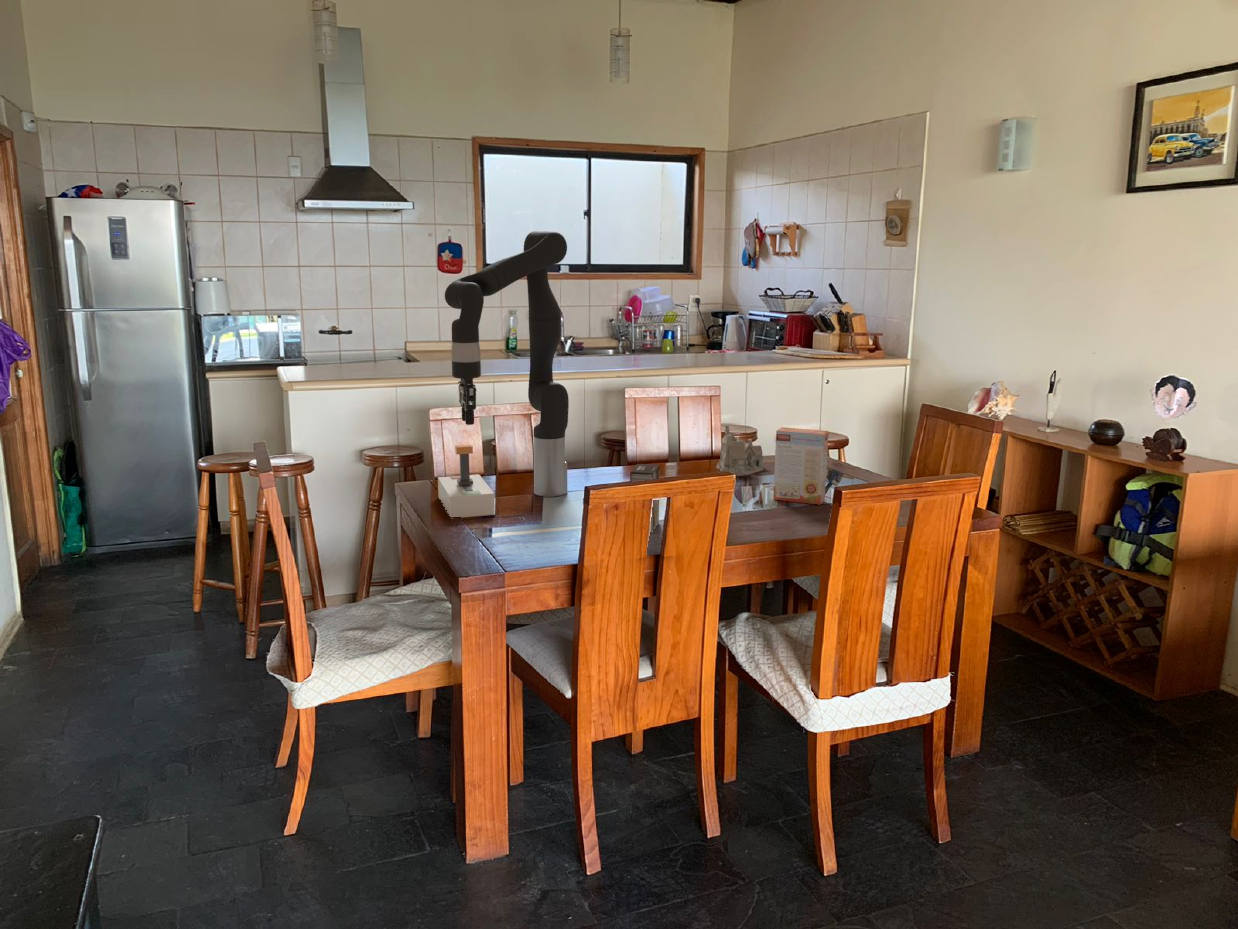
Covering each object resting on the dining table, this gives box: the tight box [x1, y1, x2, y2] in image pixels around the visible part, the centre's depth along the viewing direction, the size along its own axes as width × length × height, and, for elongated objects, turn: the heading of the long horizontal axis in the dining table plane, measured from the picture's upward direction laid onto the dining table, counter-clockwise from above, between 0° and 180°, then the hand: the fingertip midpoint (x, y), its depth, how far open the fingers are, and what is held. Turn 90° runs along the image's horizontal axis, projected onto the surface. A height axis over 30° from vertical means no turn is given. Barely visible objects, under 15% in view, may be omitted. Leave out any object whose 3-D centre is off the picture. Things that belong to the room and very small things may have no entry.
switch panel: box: [437, 474, 496, 518], centre depth 260 cm, size 12×22×6 cm, turn 19°
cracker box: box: [773, 426, 829, 506], centre depth 267 cm, size 14×6×21 cm, turn 65°
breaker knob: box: [454, 444, 474, 486], centre depth 258 cm, size 4×3×11 cm
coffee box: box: [629, 463, 661, 532], centre depth 241 cm, size 9×6×16 cm
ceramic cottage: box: [715, 424, 764, 477], centre depth 303 cm, size 16×16×15 cm
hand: (468, 422), depth 248 cm, fingers open, 5 cm apart
